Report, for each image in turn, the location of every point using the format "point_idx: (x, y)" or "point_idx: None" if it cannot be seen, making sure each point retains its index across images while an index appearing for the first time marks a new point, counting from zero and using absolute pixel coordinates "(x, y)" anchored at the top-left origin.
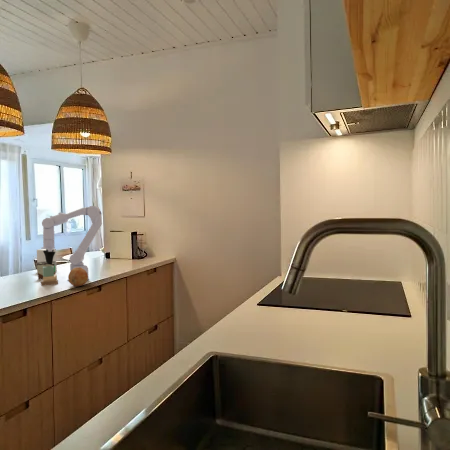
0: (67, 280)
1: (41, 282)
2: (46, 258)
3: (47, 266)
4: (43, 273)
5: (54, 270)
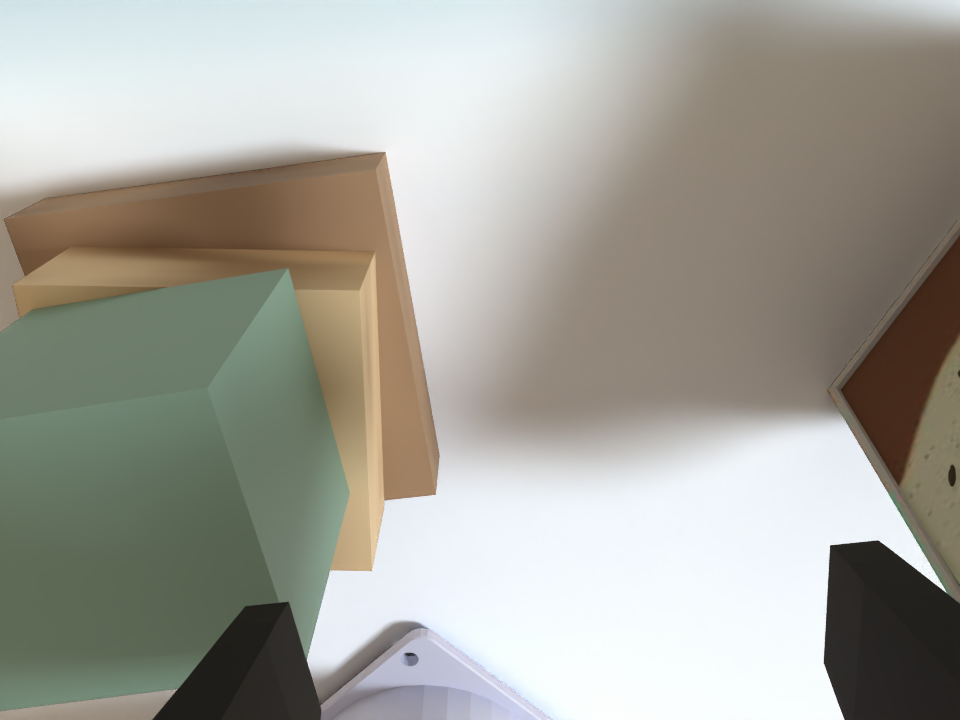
0: (407, 636)
1: (136, 196)
2: (933, 691)
3: (200, 541)
4: (106, 323)
5: (928, 534)
